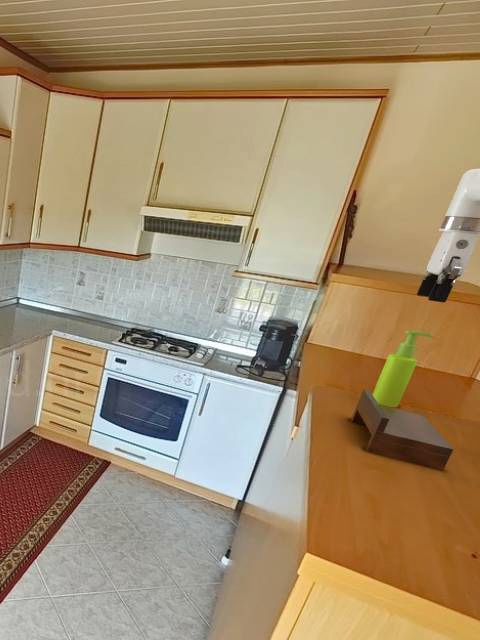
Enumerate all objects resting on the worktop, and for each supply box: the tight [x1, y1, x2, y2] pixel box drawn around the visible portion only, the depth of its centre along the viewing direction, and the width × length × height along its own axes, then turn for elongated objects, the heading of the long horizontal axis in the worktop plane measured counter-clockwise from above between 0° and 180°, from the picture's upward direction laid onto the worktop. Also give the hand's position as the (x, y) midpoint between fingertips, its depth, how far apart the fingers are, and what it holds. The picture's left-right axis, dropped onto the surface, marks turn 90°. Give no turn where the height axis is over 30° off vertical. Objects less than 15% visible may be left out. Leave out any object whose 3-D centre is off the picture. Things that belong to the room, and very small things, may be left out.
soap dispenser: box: [371, 330, 435, 408], centre depth 127 cm, size 6×7×20 cm
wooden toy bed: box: [350, 389, 455, 472], centre depth 104 cm, size 12×20×8 cm, turn 151°
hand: (430, 298), depth 120 cm, fingers open, 9 cm apart
